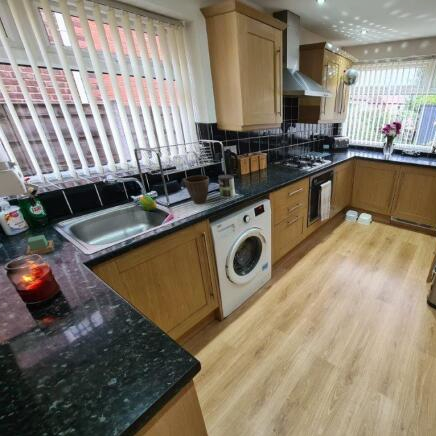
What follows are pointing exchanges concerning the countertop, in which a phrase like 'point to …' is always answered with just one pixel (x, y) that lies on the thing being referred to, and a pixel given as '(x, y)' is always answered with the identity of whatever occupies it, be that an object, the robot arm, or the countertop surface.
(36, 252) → the base pad
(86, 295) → the countertop surface
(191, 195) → the flower pot
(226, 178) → the coffee can
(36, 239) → the green pad
